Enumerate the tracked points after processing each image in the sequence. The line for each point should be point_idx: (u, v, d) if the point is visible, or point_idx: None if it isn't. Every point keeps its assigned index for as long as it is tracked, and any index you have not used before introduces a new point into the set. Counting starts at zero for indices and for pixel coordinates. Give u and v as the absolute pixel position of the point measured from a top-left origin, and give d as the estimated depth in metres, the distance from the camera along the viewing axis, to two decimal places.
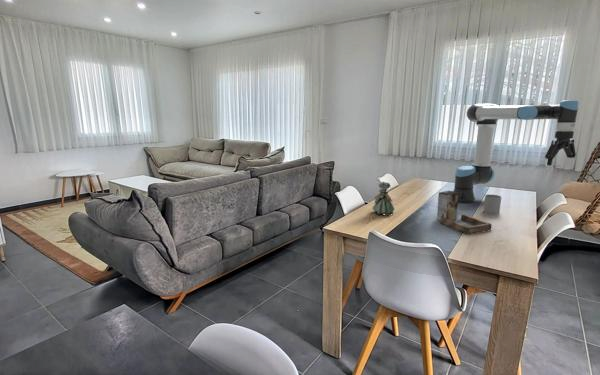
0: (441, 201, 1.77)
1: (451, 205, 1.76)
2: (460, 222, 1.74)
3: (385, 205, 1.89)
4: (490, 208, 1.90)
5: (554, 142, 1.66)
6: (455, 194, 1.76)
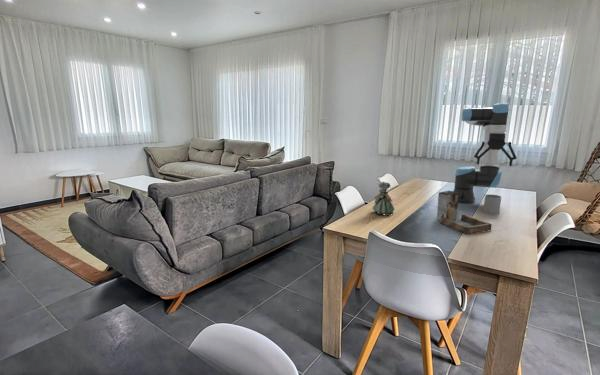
0: (441, 201, 1.77)
1: (451, 205, 1.76)
2: (460, 222, 1.74)
3: (385, 205, 1.89)
4: (490, 208, 1.90)
5: (482, 143, 1.78)
6: (455, 194, 1.76)
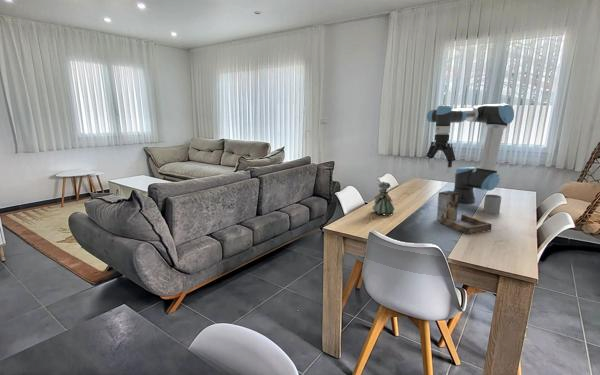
0: (441, 201, 1.77)
1: (451, 205, 1.76)
2: (460, 222, 1.74)
3: (385, 205, 1.89)
4: (490, 208, 1.90)
5: None
6: (455, 194, 1.76)
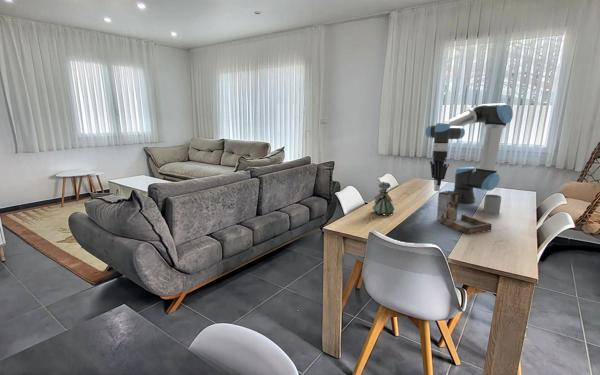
0: (441, 201, 1.77)
1: (451, 205, 1.76)
2: (460, 222, 1.74)
3: (385, 205, 1.89)
4: (490, 208, 1.90)
5: None
6: (455, 194, 1.76)
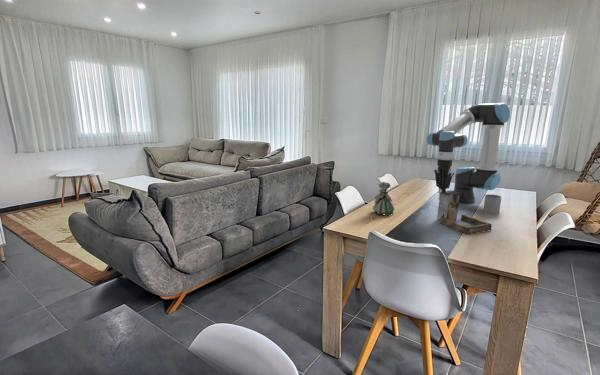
0: (442, 201, 1.77)
1: (452, 205, 1.75)
2: (460, 222, 1.74)
3: (385, 205, 1.89)
4: (490, 208, 1.90)
5: None
6: (457, 194, 1.75)
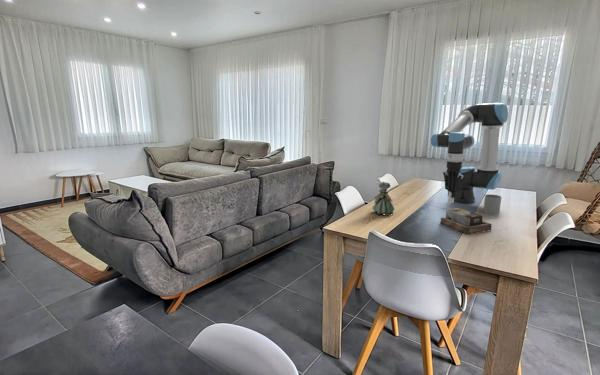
0: (462, 219, 1.66)
1: None
2: None
3: (385, 205, 1.89)
4: (490, 208, 1.90)
5: None
6: None
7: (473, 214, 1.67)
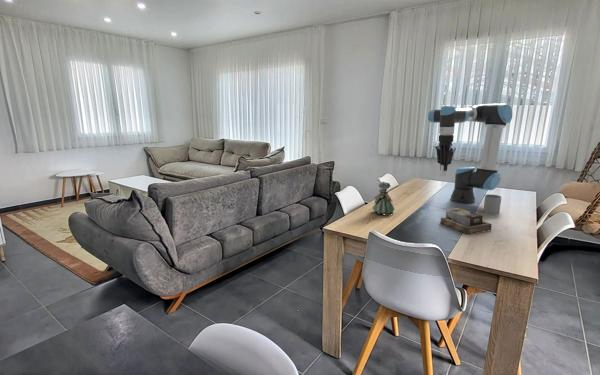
0: (462, 219, 1.66)
1: None
2: None
3: (385, 205, 1.89)
4: (490, 208, 1.90)
5: None
6: None
7: (473, 214, 1.67)
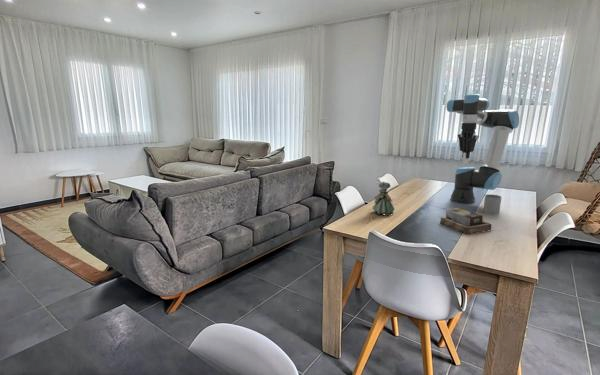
0: (462, 219, 1.66)
1: None
2: None
3: (385, 205, 1.89)
4: (490, 208, 1.90)
5: None
6: None
7: (473, 214, 1.67)
